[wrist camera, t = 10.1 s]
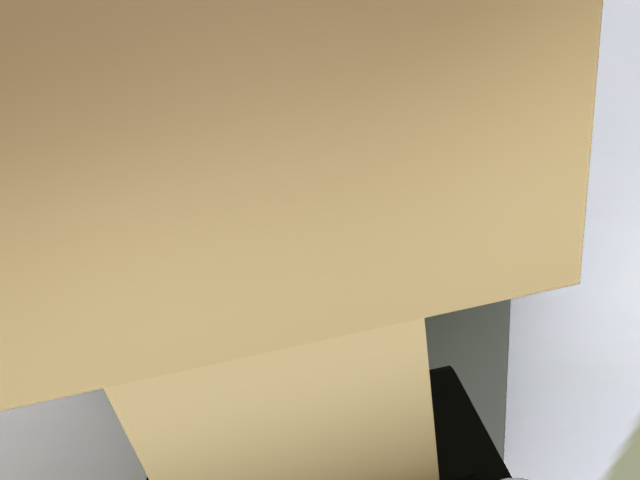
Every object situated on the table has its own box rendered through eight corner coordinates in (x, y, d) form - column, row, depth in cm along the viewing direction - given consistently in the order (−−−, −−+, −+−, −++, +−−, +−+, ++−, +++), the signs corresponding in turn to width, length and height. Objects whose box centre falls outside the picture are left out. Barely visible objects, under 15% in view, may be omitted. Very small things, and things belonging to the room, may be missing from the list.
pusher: (433, 410, 14) (547, 668, 8) (210, 460, 14) (184, 757, 8) (365, -335, 7) (717, -1376, 2) (-80, -258, 7) (-1263, -1180, 2)
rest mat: (496, 460, 20) (502, 473, 20) (187, 526, 20) (185, 541, 19) (515, -127, 11) (529, -133, 10) (-76, -28, 10) (-94, -28, 10)
